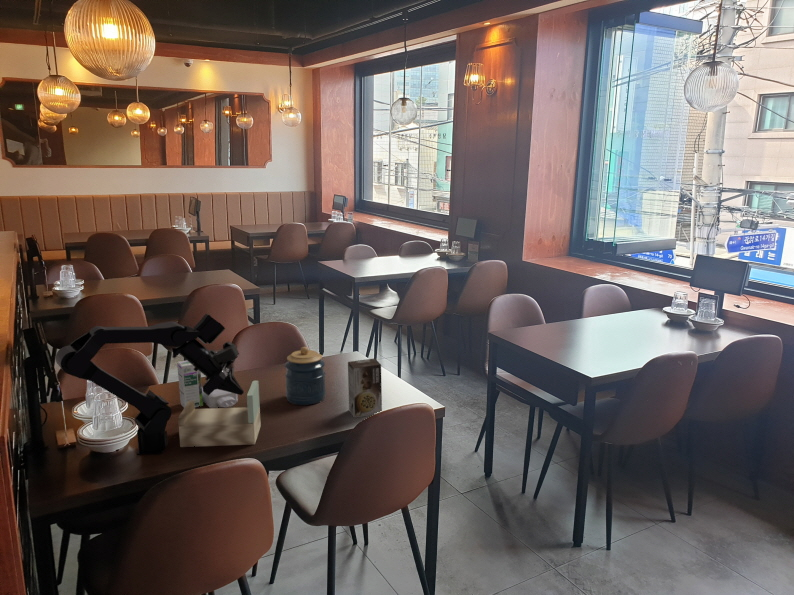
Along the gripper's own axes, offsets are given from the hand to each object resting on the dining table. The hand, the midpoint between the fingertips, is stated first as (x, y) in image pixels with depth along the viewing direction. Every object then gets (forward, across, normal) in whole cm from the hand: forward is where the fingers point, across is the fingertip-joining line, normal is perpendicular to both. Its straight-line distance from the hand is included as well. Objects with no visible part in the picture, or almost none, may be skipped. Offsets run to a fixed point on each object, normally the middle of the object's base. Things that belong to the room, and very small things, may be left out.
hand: (242, 393), depth 171 cm
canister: (+20, +27, -2) cm, 34 cm away
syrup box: (-5, +24, +24) cm, 34 cm away
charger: (+2, +24, +17) cm, 29 cm away
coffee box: (+34, +14, -15) cm, 40 cm away
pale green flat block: (+7, 0, +2) cm, 7 cm away
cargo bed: (+4, 0, +13) cm, 14 cm away
